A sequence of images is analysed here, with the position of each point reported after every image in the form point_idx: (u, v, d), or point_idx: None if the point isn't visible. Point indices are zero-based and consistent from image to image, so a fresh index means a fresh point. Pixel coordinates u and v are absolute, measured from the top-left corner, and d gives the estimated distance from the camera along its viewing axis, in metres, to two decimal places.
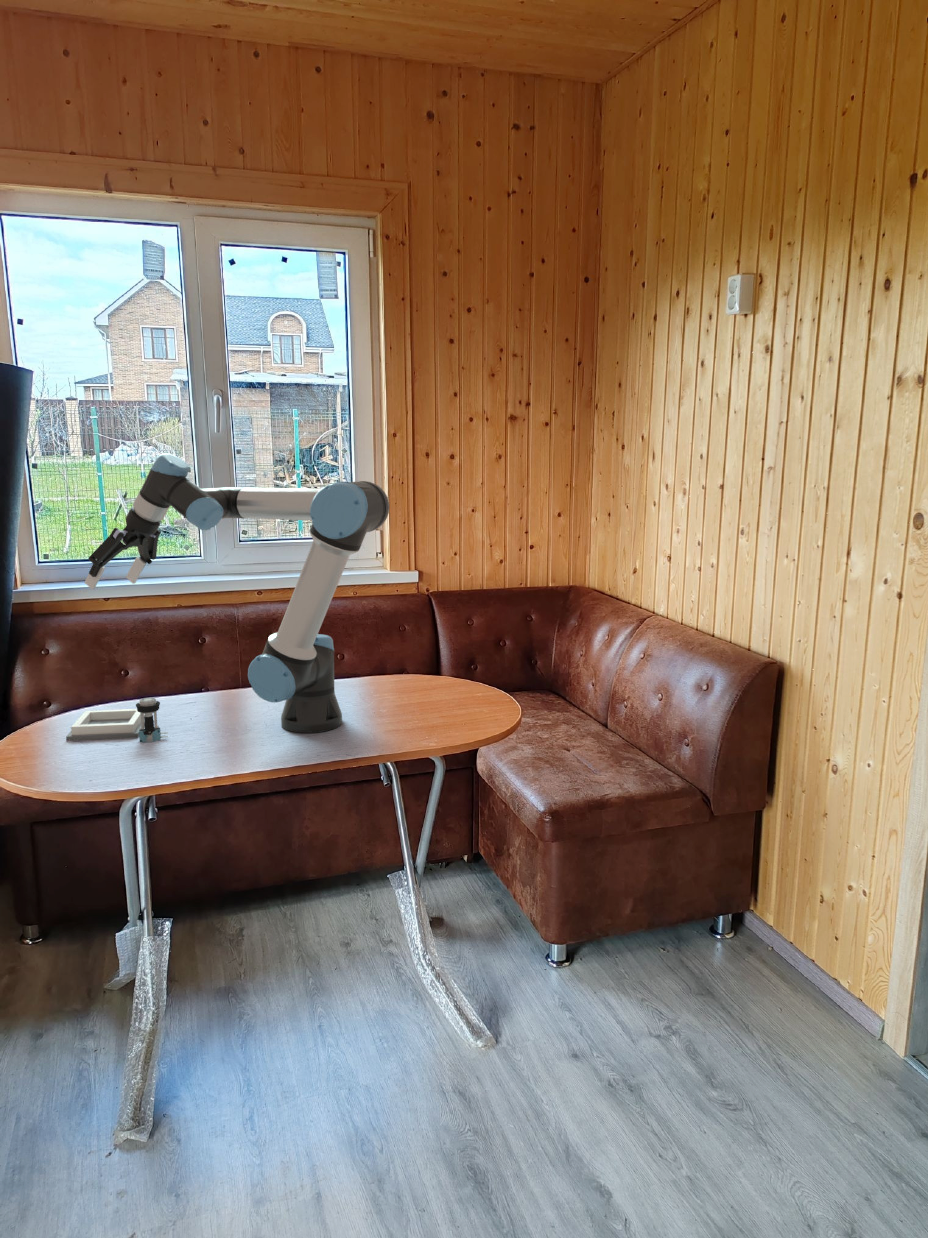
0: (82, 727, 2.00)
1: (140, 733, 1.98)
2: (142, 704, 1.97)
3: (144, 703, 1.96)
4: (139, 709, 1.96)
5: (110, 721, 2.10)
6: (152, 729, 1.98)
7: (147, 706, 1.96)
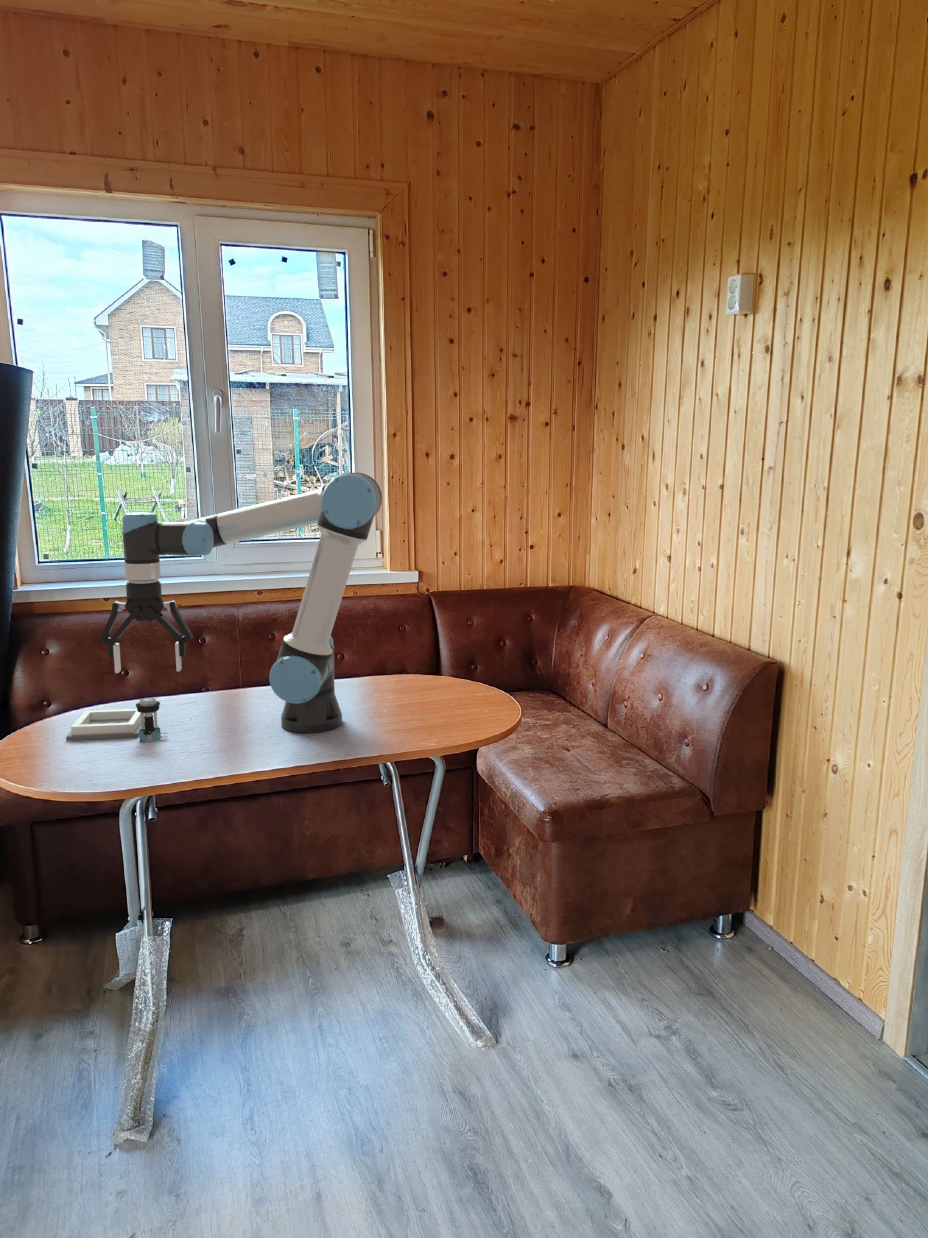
0: (82, 727, 2.00)
1: (140, 733, 1.98)
2: (142, 704, 1.97)
3: (144, 703, 1.96)
4: (139, 709, 1.96)
5: (110, 721, 2.10)
6: (152, 729, 1.98)
7: (147, 706, 1.96)
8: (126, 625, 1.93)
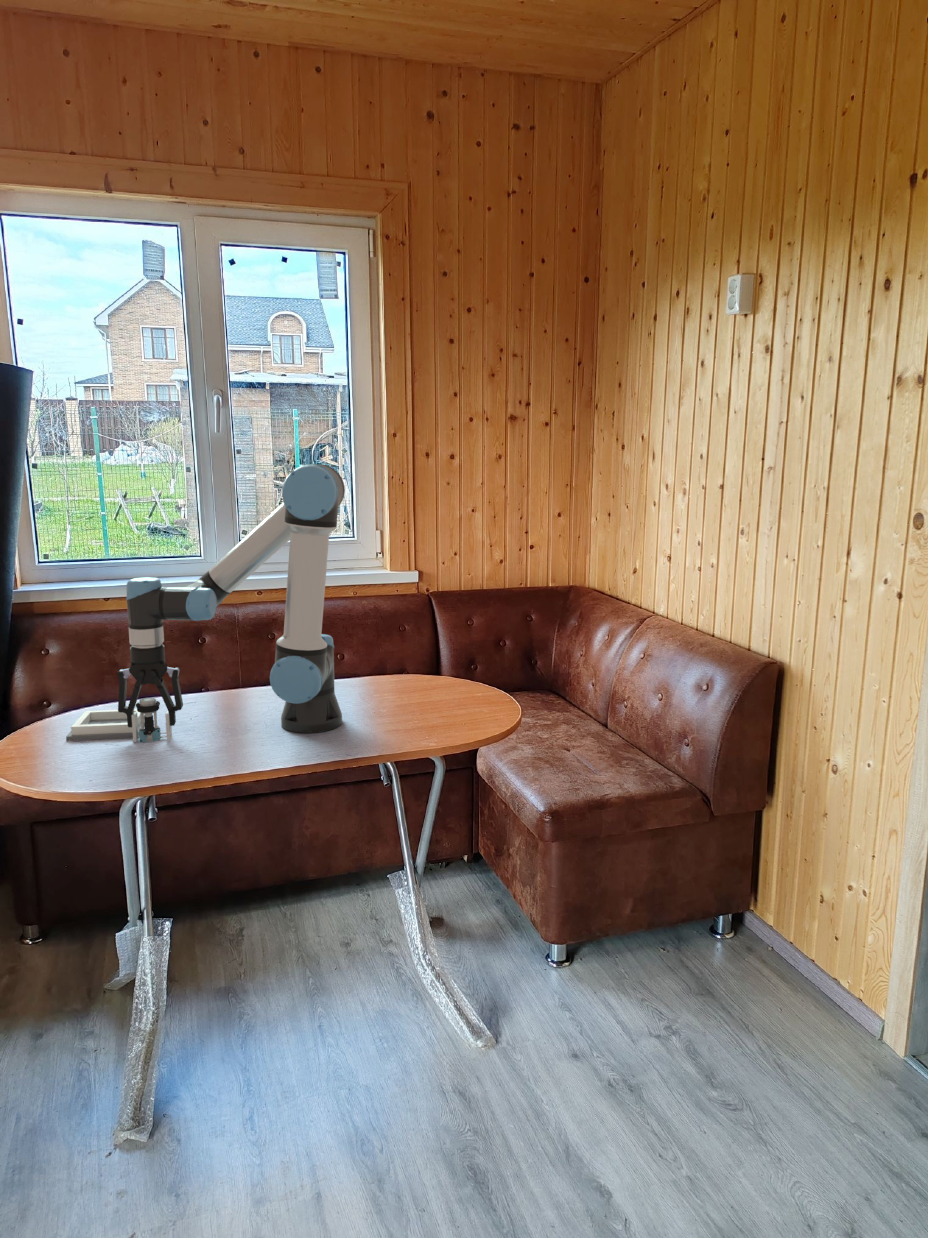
0: (82, 727, 2.00)
1: (140, 733, 1.98)
2: (142, 704, 1.97)
3: (144, 703, 1.96)
4: (139, 709, 1.96)
5: (110, 721, 2.10)
6: (152, 729, 1.98)
7: (147, 706, 1.96)
8: (137, 691, 1.96)
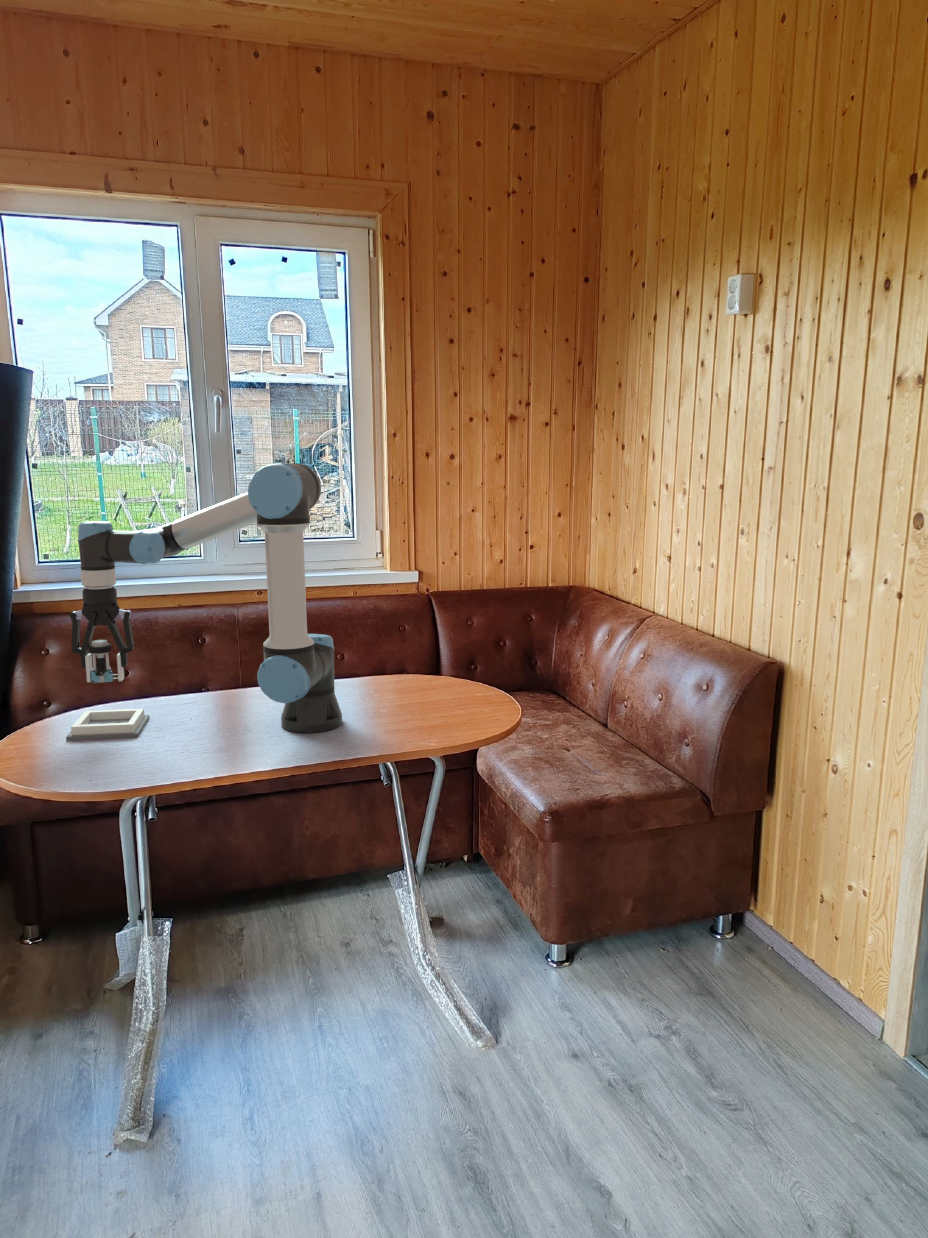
0: (82, 727, 2.00)
1: (92, 674, 2.03)
2: (94, 645, 2.02)
3: (95, 644, 2.02)
4: (91, 650, 2.02)
5: (110, 721, 2.10)
6: (104, 670, 2.04)
7: (98, 647, 2.01)
8: (90, 632, 2.01)
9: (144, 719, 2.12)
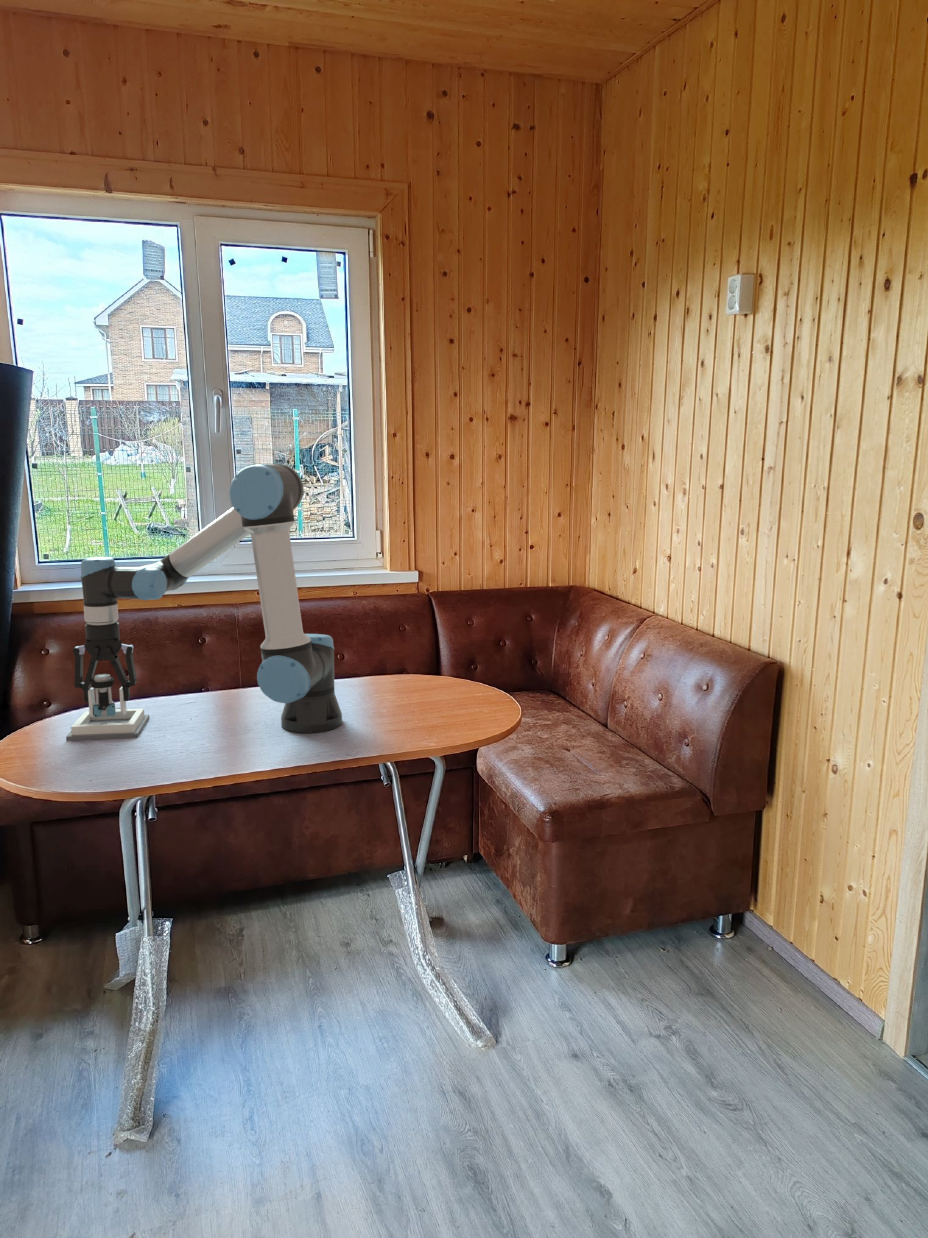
0: (82, 727, 2.00)
1: (95, 708, 2.05)
2: (96, 680, 2.03)
3: (98, 679, 2.03)
4: (93, 685, 2.03)
5: (110, 721, 2.10)
6: (106, 704, 2.05)
7: (101, 682, 2.03)
8: (92, 667, 2.03)
9: (144, 719, 2.12)
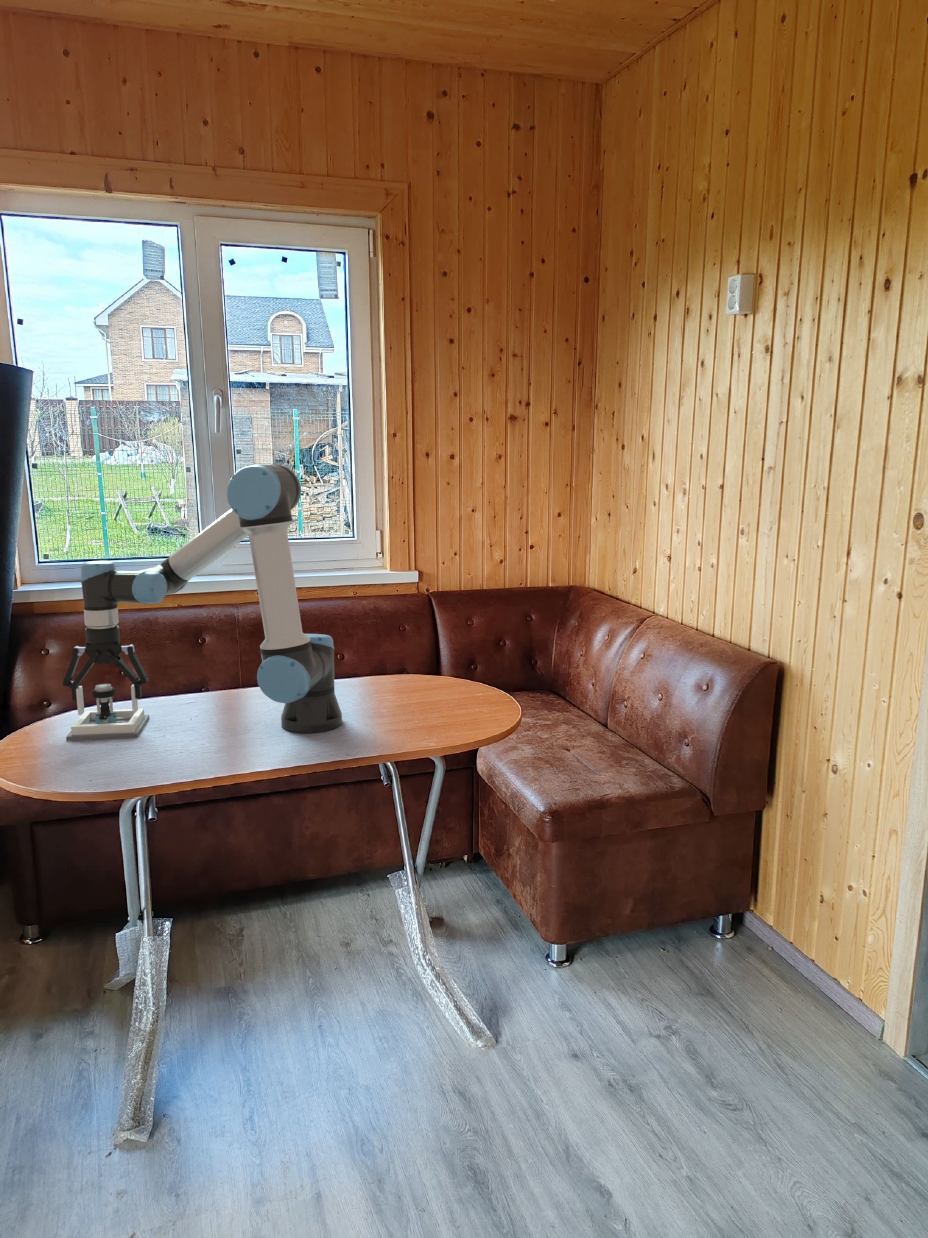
0: (82, 727, 2.00)
1: (96, 718, 2.05)
2: (97, 690, 2.04)
3: (99, 689, 2.04)
4: (94, 695, 2.04)
5: None
6: (107, 714, 2.06)
7: (102, 692, 2.03)
8: (87, 669, 2.03)
9: (144, 719, 2.12)
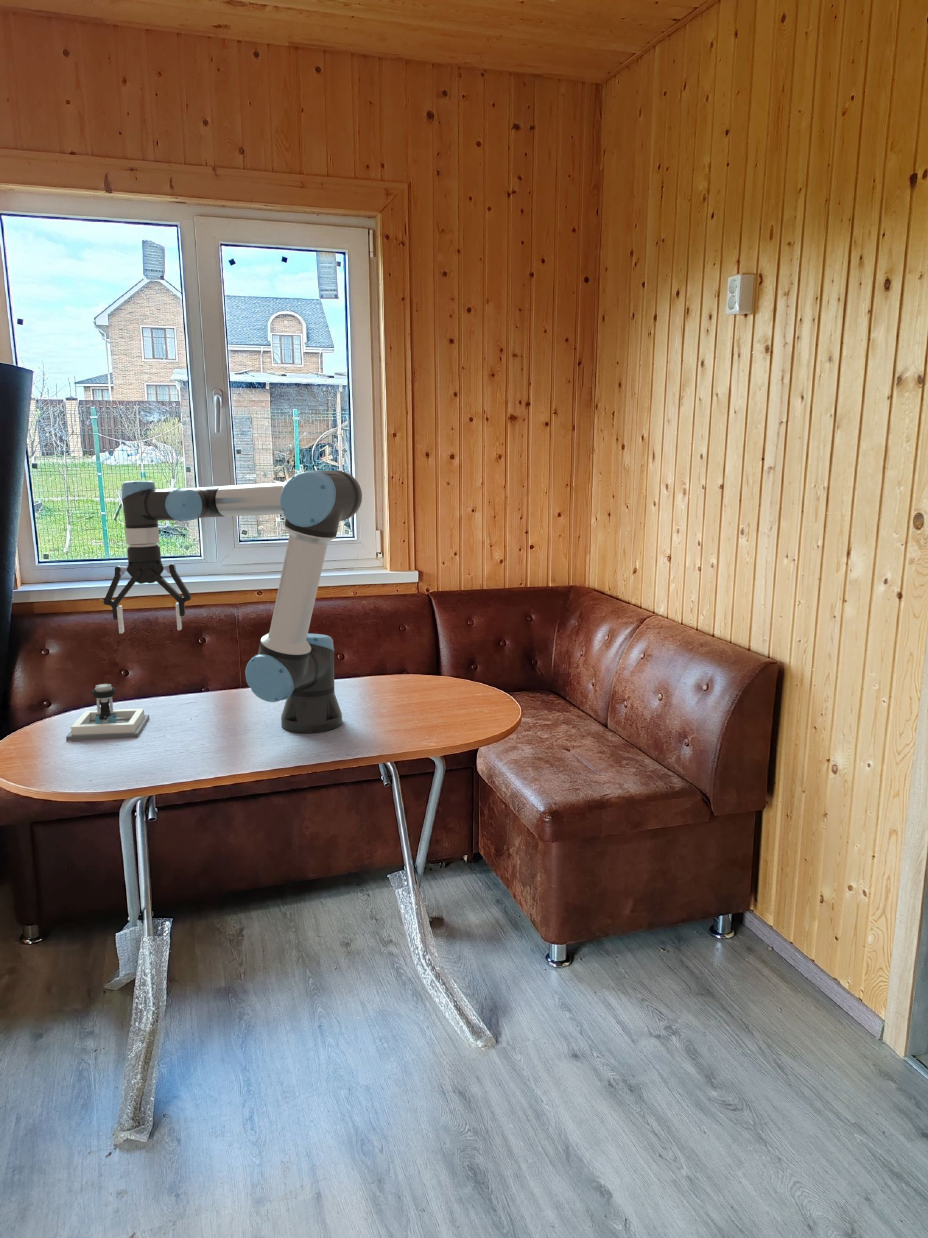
0: (82, 727, 2.00)
1: (96, 718, 2.05)
2: (97, 690, 2.04)
3: (99, 689, 2.04)
4: (95, 695, 2.04)
5: None
6: (107, 714, 2.06)
7: (102, 692, 2.03)
8: (128, 587, 2.05)
9: (144, 719, 2.12)
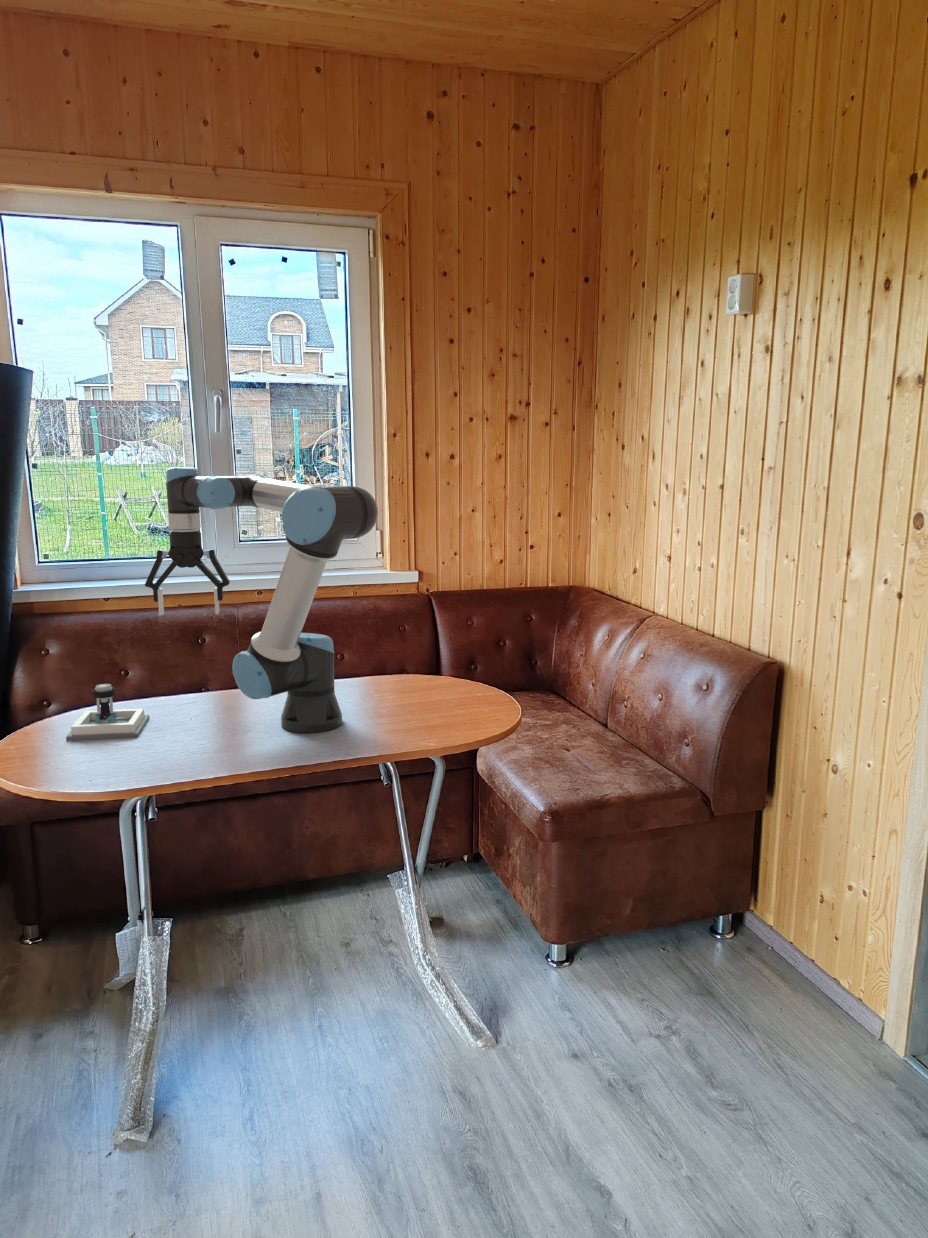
0: (82, 727, 2.00)
1: (96, 718, 2.05)
2: (97, 690, 2.04)
3: (99, 689, 2.04)
4: (95, 695, 2.04)
5: None
6: (107, 714, 2.06)
7: (102, 692, 2.03)
8: (169, 571, 2.11)
9: (144, 719, 2.12)
